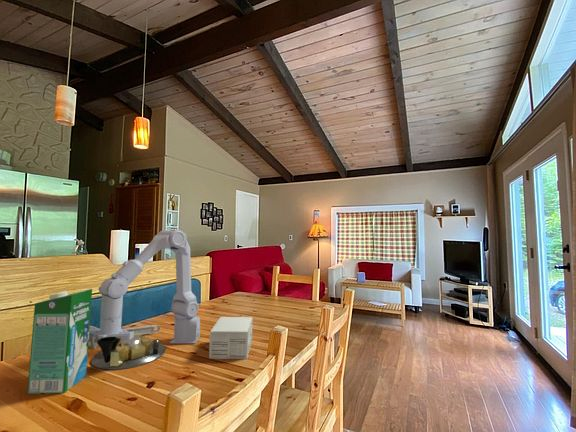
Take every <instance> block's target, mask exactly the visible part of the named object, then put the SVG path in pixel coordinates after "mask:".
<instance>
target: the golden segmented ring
mask: <svg viewBox="0 0 576 432" xmlns="http://www.w3.org/2000/svg"><path fill="white" fill-rule="evenodd" d="M134 337H141V344H140V345H137V346H134V347H129V345H122V346H121V340H123V339H122V338H121V340H120V341H119V343H118V345H117V347H116V349H114V350H113V351H112V352H111V359H110V366H119V365H120V364H121V363H122V362H124V361H125V360H129V359H131V360H132V359H136V358H139V357H142V356H145V355H147V354H148V353H149V352H150V351H151V350H152V347H153V341H154V339H152V338H151V337H149V336H143V335H135V336H134Z"/></svg>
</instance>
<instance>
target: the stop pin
mask: <svg viewBox="0 0 576 432" xmlns="http://www.w3.org/2000/svg"><path fill="white" fill-rule="evenodd" d="M159 341H160V339H158V338H156V339H153V354H158V343H160V342H159Z"/></svg>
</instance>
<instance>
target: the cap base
mask: <svg viewBox="0 0 576 432" xmlns="http://www.w3.org/2000/svg"><path fill="white" fill-rule="evenodd" d="M140 344H141V337H134V338H132V339H130V340H127V339H123V340H121V346H122V345H129V347H134V346H137V345H140ZM165 352H166V346H165V344H163V343H160V342H159V343H158V354H153V347H152V350H151V351H150V352H149V353H148V354H147V355H145V356H142V357H139V358H136V359H132V360H131V359H129V360H125V361H124V362H122V363H121V364H120V365H119V366H110V362H108V363H105V360H104V356H103V353H102V350H100V351H99V352H96V354H95V355H94V356H92V358H91V360H90V361H91V366H93V367H94V368H96V369H99V370H106V371H118V370H126V369H132V368H133V369H134V368H136V367H137V368H138V367H141V366H145V365H146V364H149V363H151V362H154V361H156V360H158V359H160V358H161V357H163V355H164V354H165Z"/></svg>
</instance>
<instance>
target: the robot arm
mask: <svg viewBox="0 0 576 432" xmlns="http://www.w3.org/2000/svg"><path fill="white" fill-rule="evenodd" d="M167 249H169V250H170V251H172V253H175V274H176V275H175V277H176V278H175V280H176V284H175V285H176V292H175V295H173V297H172V298H173V299H172V304H171V306H170V307H171V308H170V309H171V312H172V313H173V316H174V324H173V328H174V330H173V339H171V340H170V342H169V344H172V345H173V344H175V345H176V344H196V343H197V342H198V340H199V339H200V336H201V334H200V333H201V332H200V331H201V318H200V317H199V316H196V315H197V314H198V312H199V304H198V302H197V296H196V295H195V294H194V292H192V270H191V269H192V265H191V264H192V263H191V262H192V261H191V260H192V259H191V246H190V244H189V242H188V237H187V233H185V232H184V231H182V230H179V229H176V230H174V229H173V230H171V229H170V230H168V229H163V230H160V231H159V232H158V233H157V234H156V235H154V236H153V237H152V240H151V241H150V242H149V243H148V245H146V246H145V247H144V248H143V250H142V251H141V252H140V253H139V254H138V255H137V256H136V257H135V259H128V260H127V261H124V262H122V266H121V267H120V268H119V269H118V270H117V271H116V272H115V273H112V274H111V275H110V277H108V278H106V279H104V280H103V281H102V282H101V284H100V286H99V287H98V292H99V294H100V295H101V305H100V322H99V329H91V330H89V337H98V338H101V339H100V340H99V341H98V342H97V344H98V347H99V348H100V351H102V353H103V356H104V360H105V363H108V362H110V359H111V352H112V351H113V350H114V349H116V347H117V345H118V343H119V341H120V340H121V339H127V340H130V339H132V338H134V331H128V330H124V329H125V328H122V322H123V321H122V320H123V319H122V318H123V303H124V302H123V301H124V300H123V299H124V295H125V294H126V293H127V292H128V288H129V286H130V285H131V283H133V281H134V280H135V279H136V278H137V277H138V276H139V275H140V274H141V273H142V272H143V269H144V265H145V264H147V262H149V261H150V260H151V259H152V258H153V257H154V256H155V255H157V253H158V252H159V251H161V250H167Z"/></svg>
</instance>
